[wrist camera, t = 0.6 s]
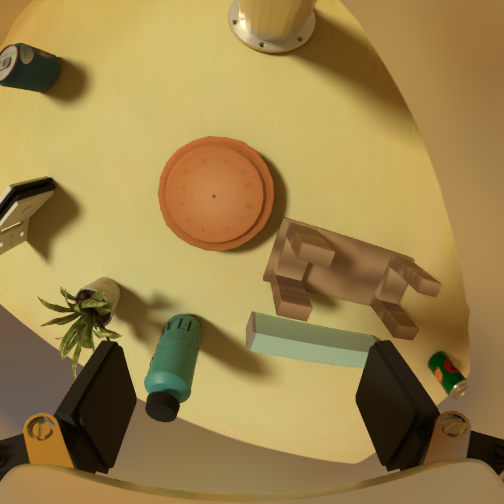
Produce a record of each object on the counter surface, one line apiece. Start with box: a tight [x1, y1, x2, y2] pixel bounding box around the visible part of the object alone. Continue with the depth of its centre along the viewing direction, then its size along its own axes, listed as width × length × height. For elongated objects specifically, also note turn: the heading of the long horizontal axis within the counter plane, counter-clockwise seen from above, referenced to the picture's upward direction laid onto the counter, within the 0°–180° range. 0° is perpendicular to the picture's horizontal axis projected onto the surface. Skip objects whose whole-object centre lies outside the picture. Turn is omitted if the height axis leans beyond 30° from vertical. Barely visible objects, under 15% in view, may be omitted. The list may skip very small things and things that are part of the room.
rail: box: [246, 312, 377, 369], centre depth 46 cm, size 4×24×6 cm, turn 74°
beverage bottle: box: [144, 314, 202, 422], centre depth 39 cm, size 6×7×20 cm
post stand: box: [263, 217, 442, 340], centre depth 40 cm, size 10×24×11 cm, turn 74°
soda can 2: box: [428, 352, 468, 399], centre depth 48 cm, size 5×5×12 cm
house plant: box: [38, 277, 121, 379], centre depth 38 cm, size 14×14×16 cm
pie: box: [158, 136, 274, 251], centre depth 39 cm, size 16×16×5 cm
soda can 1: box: [0, 43, 60, 92], centre depth 27 cm, size 7×7×12 cm
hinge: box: [0, 176, 56, 255], centre depth 35 cm, size 14×5×10 cm, turn 131°
